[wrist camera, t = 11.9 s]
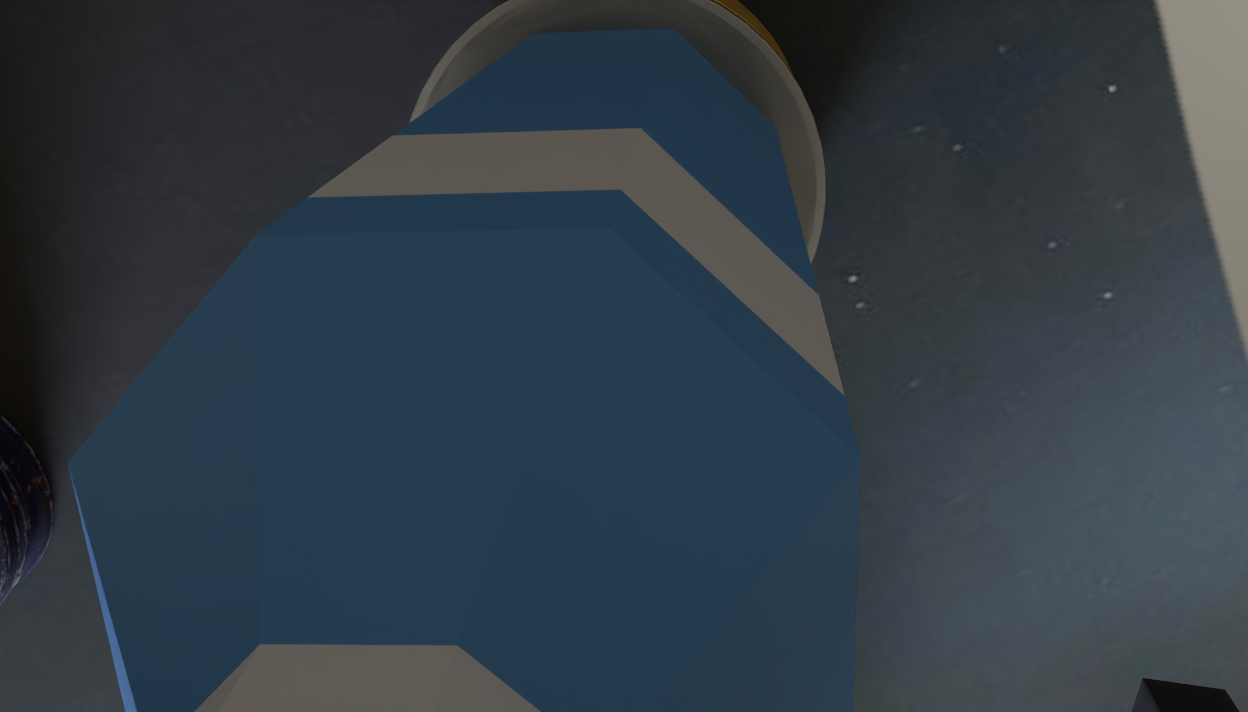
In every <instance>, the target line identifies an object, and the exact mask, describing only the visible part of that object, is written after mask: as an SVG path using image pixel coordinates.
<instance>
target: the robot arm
mask: <svg viewBox="0 0 1248 712" xmlns="http://www.w3.org/2000/svg"><path fill="white" fill-rule="evenodd" d="M1132 712H1239V711H1238V709H1237V708H1236V706H1235V704H1234V703H1233V701H1232V700H1231V698H1230V696H1229V695H1228V693H1227V692H1226V690H1223V689H1216V688H1209V687H1202V686H1195V685H1188V684H1181V683H1174V682H1167V681H1160V680H1153V679H1146V678H1143V679H1142V682H1141V685H1140V688H1139V691H1138V694H1137V697H1136V700H1135V703H1134V706H1133V709H1132Z"/></svg>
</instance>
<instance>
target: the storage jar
mask: <svg viewBox="0 0 1248 712" xmlns="http://www.w3.org/2000/svg"><path fill="white" fill-rule="evenodd" d="M53 520H54V514H53V500H52V495H51V491H50V486H49V483H48V480H47V477H46V475H45V472H44V470H43V467H42V465H41V464H40V462H39V460H38V458H37V456H36V455H35V453H34V451H33V450H32V448H31V447H30V446H29V444H28V443H27V442H26V440H25V439H24V438H23V436H22V435H21V434H20V433H19V432H18V431H17V430H16V429H15V428H14V427H13V426H12V425H11V424H10V423H9V422H8V421H7V420H6V419H5V418H4V417H3V416H1V415H0V604H1V603H2V602H3V601H4V600H5V598H6V597H7V595H8V593H9V592H10V591H11V590H12V588H13V587H14V586H15V585H16V584H18V583H19V582H20V581H22V580H23V579H24V578H25V577H26V576H27V575H28V574H29V573H30V572H31V570H32V569H33V568H34V567H35V566H36V565H37V564H38V563H39V561H40V559H41V558H42V556H43V554H44V552H45V551H46V549H47V546H48V543H49V540H50V537H51V534H52V527H53Z"/></svg>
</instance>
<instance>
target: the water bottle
mask: <svg viewBox="0 0 1248 712" xmlns="http://www.w3.org/2000/svg"><path fill="white" fill-rule="evenodd" d="M860 460H861V457H860V453H859V450H858V446H857V442H856V438H855V434H854V430H853V426H852V422H851V418H850V415H849V411H848V407H847V403H846V399H845V395H844V391H843V387H842V384H841V380H840V376H839V372H838V368H837V364H836V360H835V356H834V353H833V349H832V345H831V341H830V337H829V333H828V329H827V325H826V321H825V318H824V314H823V310H822V306H821V302H820V298H819V294H818V290H817V287H816V283H815V279H814V275H813V271H812V267H811V263H810V259H809V255H808V252H807V248H806V244H805V240H804V236H803V232H802V228H801V224H800V221H799V217H798V213H797V209H796V205H795V201H794V197H793V193H792V189H791V186H790V182H789V178H788V174H787V170H786V166H785V162H784V158H783V155H782V151H781V147H780V143H779V139H778V135H777V131H776V127H775V125H774V124H773V123H771V122H770V121H769V120H768V119H767V118H766V117H765V116H764V115H763V114H762V113H761V112H760V111H759V110H758V109H757V108H756V107H755V106H754V105H753V104H752V103H751V102H750V101H749V100H748V99H747V98H746V97H745V96H744V95H743V94H742V93H740V92H739V91H738V90H737V89H736V88H735V87H734V86H733V85H732V84H731V83H730V82H729V81H728V80H727V79H726V78H725V77H724V76H723V75H722V74H721V73H720V72H719V71H718V70H717V69H716V68H715V67H714V66H713V65H712V64H711V63H709V62H708V61H707V60H706V59H705V58H704V57H703V56H702V55H701V54H700V53H699V52H698V51H697V50H696V49H695V48H694V47H693V46H692V45H691V44H690V43H689V42H688V41H687V40H686V39H685V38H684V37H683V36H682V35H681V34H680V33H679V32H677V31H676V30H675V29H674V28H661V29H633V30H606V31H579V32H552V33H532V34H531V35H530V36H528V37H527V38H525V39H524V40H523V41H521V42H520V43H519V44H517V45H516V46H514V47H513V48H512V49H510V50H509V51H508V52H506V53H505V54H504V55H502V56H501V57H499V58H498V59H497V60H495V61H494V62H493V63H491V64H490V65H488V66H487V67H486V68H484V69H483V70H482V71H480V72H479V73H478V74H476V75H475V76H473V77H472V78H471V79H469V80H468V81H467V82H465V83H464V84H462V85H461V86H460V87H458V88H457V89H456V90H454V91H453V92H452V93H450V94H449V95H447V96H446V97H445V98H443V99H442V100H441V101H439V102H438V103H436V104H435V105H434V106H432V107H431V108H430V109H428V110H427V111H426V112H424V113H423V114H421V115H420V116H419V117H417V118H416V119H415V120H413V121H412V122H410V123H409V124H408V125H406V126H405V127H404V128H402V129H401V130H400V131H398V132H397V133H395V134H394V135H393V136H391V137H390V138H389V139H387V140H386V141H384V142H383V143H382V144H380V145H379V146H378V147H376V148H375V149H374V150H372V151H371V152H369V153H368V154H367V155H365V156H364V157H363V158H361V159H360V160H358V161H357V162H356V163H354V164H353V165H352V166H350V167H349V168H348V169H346V170H345V171H343V172H342V173H341V174H339V175H338V176H337V177H335V178H334V179H332V180H331V181H330V182H328V183H327V184H326V185H324V186H323V187H322V188H320V189H319V190H317V191H316V192H315V193H313V194H312V195H311V196H309V197H308V198H306V199H305V200H304V201H302V202H301V203H300V204H298V205H297V206H296V207H294V208H293V209H291V210H290V211H289V212H287V213H286V214H285V215H283V216H282V217H280V218H279V219H278V220H276V221H275V222H274V223H272V224H271V225H270V226H268V227H267V228H265V229H264V230H263V231H261V232H260V233H259V234H257V235H256V236H255V237H254V238H253V239H252V241H251V242H250V243H249V244H248V246H247V247H246V248H245V249H244V250H243V252H242V253H241V254H240V255H239V256H238V258H237V259H236V260H235V261H234V262H233V264H232V265H231V266H230V267H229V269H228V270H227V271H226V272H225V273H224V275H223V276H222V277H221V278H220V279H219V281H218V282H217V283H216V284H215V286H214V287H213V288H212V289H211V290H210V292H209V293H208V294H207V295H206V296H205V298H204V299H203V300H202V301H201V302H200V304H199V305H198V306H197V307H196V309H195V310H194V311H193V312H192V313H191V315H190V316H189V317H188V318H187V319H186V321H185V322H184V323H183V324H182V325H181V327H180V328H179V329H178V330H177V332H176V333H175V334H174V335H173V336H172V338H171V339H170V340H169V341H168V342H167V344H166V345H165V346H164V347H163V349H162V350H161V351H160V352H159V353H158V355H157V356H156V357H155V358H154V359H153V361H152V362H151V363H150V364H149V365H148V367H147V368H146V369H145V370H144V372H143V373H142V374H141V375H140V376H139V378H138V379H137V380H136V381H135V382H134V384H133V385H132V386H131V387H130V389H129V390H128V391H127V392H126V393H125V395H124V396H123V397H122V398H121V399H120V401H119V402H118V403H117V404H116V405H115V407H114V408H113V409H112V410H111V412H110V413H109V414H108V415H107V416H106V418H105V419H104V420H103V421H102V422H101V424H100V425H99V426H98V427H97V429H96V430H95V431H94V432H93V433H92V435H91V436H90V437H89V438H88V439H87V441H86V442H85V443H84V444H83V445H82V447H81V448H80V449H79V450H78V452H77V453H76V454H75V455H74V456H73V458H72V459H71V460H70V461H69V462H68V465H69V470H70V474H71V478H72V483H73V487H74V491H75V496H76V500H77V504H78V509H79V513H80V517H81V522H82V526H83V530H84V535H85V539H86V543H87V548H88V552H89V556H90V561H91V565H92V569H93V574H94V578H95V582H96V587H97V591H98V595H99V600H100V604H101V608H102V613H103V617H104V621H105V626H106V630H107V634H108V639H109V643H110V647H111V652H112V656H113V660H114V665H115V669H116V673H117V678H118V682H119V686H120V691H121V695H122V699H123V704H124V708H125V712H853V688H854V655H855V623H856V590H857V558H858V525H859V493H860Z"/></svg>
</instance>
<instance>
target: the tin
mask: <svg viewBox="0 0 1248 712" xmlns="http://www.w3.org/2000/svg"><path fill="white" fill-rule="evenodd" d="M661 28H674V29H675V30H676V31H677V32H679V33H680V34H681V35H682V36H683V37H684V38H685V39H686V40H687V41H688V42H689V43H690V44H691V45H692V46H693V47H694V48H695V49H696V50H697V51H698V52H699V53H700V54H701V55H702V56H703V57H704V58H705V59H706V60H707V61H708V62H709V63H711V64H712V65H713V66H714V67H715V68H716V69H717V70H718V71H719V72H720V73H721V74H722V75H723V76H724V77H725V78H726V79H727V80H728V81H729V82H730V83H731V84H732V85H733V86H734V87H735V88H736V89H737V90H738V91H739V92H740V93H742V94H743V95H744V96H745V97H746V98H747V99H748V100H749V101H750V102H751V103H752V104H753V105H754V106H755V107H756V108H757V109H758V110H759V111H760V112H761V113H762V114H763V115H764V116H765V117H766V118H767V119H768V120H769V121H770V122H771V123H773V124H774V125H775V127H776V131H777V135H778V139H779V143H780V147H781V151H782V155H783V158H784V162H785V166H786V170H787V174H788V178H789V182H790V186H791V189H792V193H793V197H794V201H795V205H796V209H797V213H798V217H799V221H800V224H801V228H802V232H803V236H804V240H805V244H806V248H807V252H808V255H809V259H810V263H811V264H812V261H813V259H814V257H815V254H816V251H817V247H818V243H819V239H820V235H821V231H822V227H823V221H824V212H825V203H826V171H825V164H824V158H823V151H822V145H821V140H820V137H819V134H818V130H817V127H816V124H815V120H814V117H813V114H812V112H811V110H810V108H809V105H808V103H807V101H806V99H805V96H804V94H803V92H802V90H801V88H800V86H799V84H798V83H797V81H796V79H795V78H794V76H793V73H792V71H791V69H790V67H789V65H788V62H787V60H786V58H785V56H784V54H783V53H782V51H781V49H780V48H779V46H778V45H777V43H776V41H775V40H774V38H773V37H772V35H771V34H770V33H769V32H768V31H767V29H766V28H765V27H764V26H763V25H762V23H761V22H760V21H759V20H758V18H757V17H756V16H754V15H753V14H752V13H751V12H750V11H749V10H748V9H747V8H746V7H745V6H744V5H742V4H741V3H740V2H739V1H738V0H508V1H506V2H504V3H502V4H501V5H499V6H497V7H495V8H494V9H493V10H491V11H490V12H488V13H487V14H486V15H484V16H483V17H482V18H480V19H479V20H478V21H476V22H475V23H473V24H472V25H471V26H470V27H469V28H468V29H467V30H466V31H465V32H464V33H463V34H462V35H461V36H460V37H459V38H458V39H457V40H456V41H455V42H454V43H453V44H452V45H451V46H450V48H449V49H448V50H447V52H446V53H445V54H444V55H443V57H442V58H441V59H440V61H439V62H438V63H437V64H436V66H435V67H434V69H433V71H432V73H431V74H430V76H429V78H428V80H427V81H426V83H425V85H424V87H423V88H422V90H421V92H420V95H419V97H418V100H417V102H416V105H415V107H414V110H413V112H412V115H411V118H410V122H412V121H413V120H415V119H416V118H417V117H419V116H420V115H421V114H423V113H424V112H426V111H427V110H428V109H430V108H431V107H432V106H434V105H435V104H436V103H438V102H439V101H441V100H442V99H443V98H445V97H446V96H447V95H449V94H450V93H452V92H453V91H454V90H456V89H457V88H458V87H460V86H461V85H462V84H464V83H465V82H467V81H468V80H469V79H471V78H472V77H473V76H475V75H476V74H478V73H479V72H480V71H482V70H483V69H484V68H486V67H487V66H488V65H490V64H491V63H493V62H494V61H495V60H497V59H498V58H499V57H501V56H502V55H504V54H505V53H506V52H508V51H509V50H510V49H512V48H513V47H514V46H516V45H517V44H519V43H520V42H521V41H523V40H524V39H525V38H527V37H528V36H530V35H531V34H532V33H552V32H579V31H606V30H633V29H661ZM410 122H409V123H410Z"/></svg>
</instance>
